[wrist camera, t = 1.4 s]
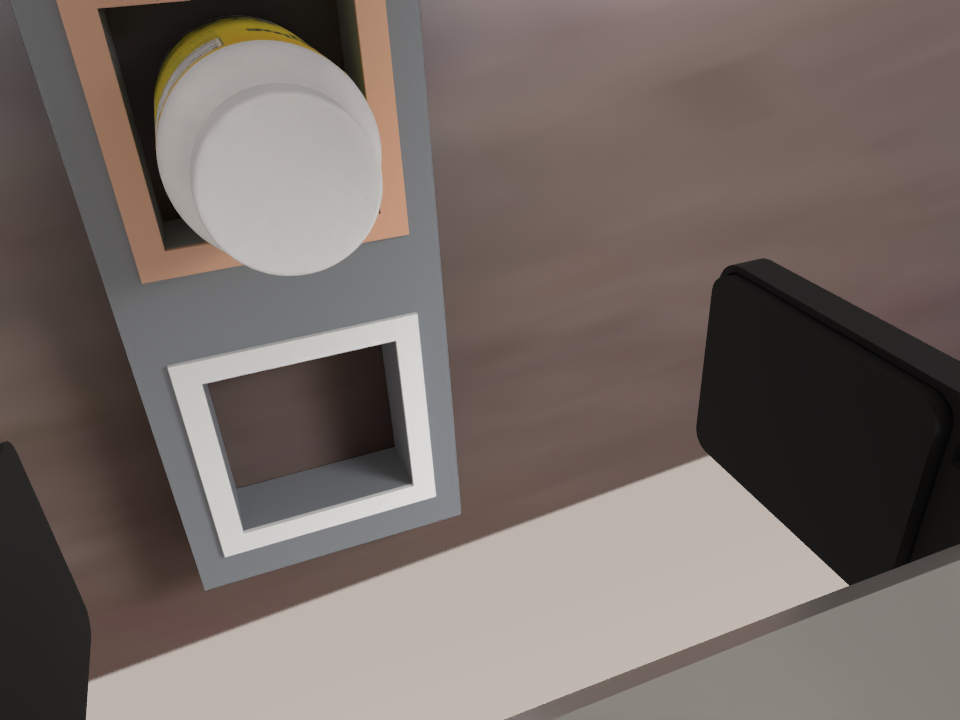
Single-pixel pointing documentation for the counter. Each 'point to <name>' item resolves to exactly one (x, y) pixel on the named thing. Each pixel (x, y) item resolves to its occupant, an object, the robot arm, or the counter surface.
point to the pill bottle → (266, 146)
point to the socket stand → (264, 300)
